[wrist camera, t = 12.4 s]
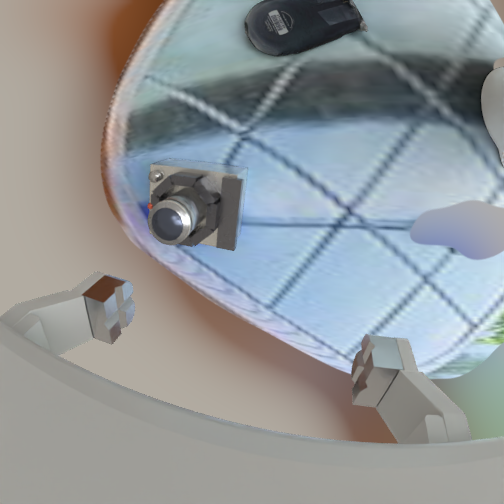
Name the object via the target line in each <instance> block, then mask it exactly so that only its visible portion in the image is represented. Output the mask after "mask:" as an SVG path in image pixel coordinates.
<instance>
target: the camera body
mask: <svg viewBox="0 0 504 504" xmlns="http://www.w3.org/2000/svg"><path fill="white" fill-rule="evenodd" d="M247 173H248V168H246V167H239V166H232V165H225V164H217V163H209V162H201V161H192V160H183V159H173V158H169V159H166V160H163V161H159V162H156V163H153V164H151V168H150V173H149V180H150V203H149V204H148V208H149V209H150V211H151V209H152V208H153V207H154V206H155V205H156V204H157V203H159V202H161V201H162V200H165V199H166V198H168V197H169V196H171V195H173V194H174V193H176V192H178V191H179V190H181V189H183V188H194V189H195V190H196V192H197V193H198V194H199V196H200V197H201V198H202V199H203V201H204V202H205V203H206V204H207V213H206V217H205V218H204V220H203V221H202V222H201V223H200V224H199V225H198V226H197V227H196V228H195V229H194V230H193V231H192V232H191V233H190V234H189V235H188V236H187V237H186V238H185V239H184V240H183V241H182V242H180V243H178V244H181V245H186V246H191V247H192V246H193V245H195V246H196V245H197V244H199V243H200V244H205V245H210V246H215V247H217V248H222V249H227V250H232V251H234V250H235V249H236V243H237V238H238V236H239V235H240V232H241V224H242V215H243V207H244V198H245V190H246V181H247ZM150 234H152V233H151V231H150Z"/></svg>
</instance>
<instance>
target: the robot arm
mask: <svg viewBox="0 0 504 504" xmlns="http://www.w3.org/2000/svg"><path fill="white" fill-rule="evenodd" d="M481 106H482V113H483V118H484V121H485V124H486V127H487V130H488V132H489V134H490V136H491V137H492V139H493V141H494V142H495V144H496V146H497V147H498V150H499V154H500V158H501V162H502V165H503V166H504V67H499V68H496V69H494V70H493V71H491V72H490V73H489V75H488V76H487V77H486V79H485V81H484V84H483V88H482V94H481ZM132 293H133V287H132V283H131V282H129V281H127V280H123V279H120V278H117V277H114V276H111V275H107V274H104V273H101V272H94V273H93V274H91V275H90V276H89V277H87V278H86V279H85V280H84V281H83V282H81V283H80V284H79V285H77V287H75V288H74V289H72V290H71V291H68V290H66V291H63V292H59V293H55V294H51V295H48V296H44V297H40V298H36V299H32V300H29V301H25V302H21V303H18V304H15V305H14V306H13V307H12V308H10V309H9V310H8V311H7V312H6V313H4V314H3V315H2V316H1V317H0V504H504V436H502V437H496V438H488V439H480V440H472V437H471V433H470V430H469V426H468V423H467V419H466V416H465V413H464V412H463V411H462V410H461V409H460V408H459V407H458V406H456V405H455V404H454V403H453V402H452V401H451V400H450V399H449V398H448V397H447V396H446V395H445V394H444V393H443V392H442V391H441V390H440V389H439V388H438V387H437V386H436V385H435V384H434V383H433V382H432V381H431V380H430V379H429V378H428V377H427V376H426V375H425V374H423V373H422V372H418V369H417V365H416V362H415V359H414V355H413V352H412V349H411V346H410V343H409V340H408V339H404V338H395V337H394V338H391V337H384V336H377V335H371V334H366V335H365V336H364V338H363V340H362V342H361V346H362V350H361V351H359V352H358V353H357V354H356V356H355V359H354V361H353V365H352V372H351V377H352V380H353V381H354V383H355V385H354V387H353V388H352V396H353V405H361V406H368V407H377V408H376V409H377V410H378V412H379V414H380V415H381V417H382V418H383V420H384V421H385V423H386V424H387V426H388V428H389V429H390V430H391V432H392V433H393V435H394V437H395V438H396V440H397V441H398V443H399V444H388V443H366V442H365V443H364V442H352V441H341V440H331V439H323V438H315V437H308V436H301V435H295V434H289V433H283V432H277V431H272V430H267V429H262V428H257V427H252V426H248V425H243V424H239V423H235V422H231V421H227V420H223V419H219V418H216V417H212V416H209V415H205V414H202V413H198V412H194V411H191V410H188V409H185V408H182V407H179V406H176V405H173V404H170V403H167V402H164V401H161V400H158V399H155V398H153V397H150V396H147V395H145V394H142V393H139V392H137V391H134V390H131V389H129V388H127V387H124V386H122V385H119V384H117V383H114V382H112V381H110V380H108V379H105V378H103V377H101V376H99V375H96V374H94V373H92V372H90V371H88V370H86V369H84V368H82V367H80V366H78V365H75V364H73V363H71V362H69V361H67V360H65V359H64V358H62V357H60V356H58V355H60V354H63V353H65V352H67V351H69V350H71V349H73V348H75V347H77V346H79V345H81V344H83V343H86V342H88V341H90V340H92V339H93V338H95V339H98V340H101V341H104V342H106V343H109V344H113V343H114V342H115V341H116V339H117V338H118V337H119V336H120V335H121V328H124V327H127V326H128V325H129V324H130V322H131V321H132V319H133V316H134V311H135V304H134V301H133V300H132V298H131V297H130V296H131V294H132Z"/></svg>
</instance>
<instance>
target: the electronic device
mask: <svg viewBox="0 0 504 504" xmlns="http://www.w3.org/2000/svg"><path fill="white" fill-rule="evenodd" d="M245 29H246V30H245V33H246V34H247V36H248V37H249V39H250V41H251V42H252V44H253V45H254V46H255V47H256V48H257V49H258V50H260V51H262V52H264V53H266V54H269V55H273V56H281V55H288V54H296V53H300V52H303V51H306V50H309V49H312V48H315V47H317V46H320V45H323V44H325V43H328V42H330V41H333V40H336V39H338V38H340V37H342V36H343V35H345V34H348V33H351V32H354V31H356V30H361V31H366V32H367V29H368V27H367V25H366V24H365V22H364V20H363V18H362V16H361V14H360V13H359V11H358V9H357V8H356V6H355V4H354V2H353V0H264V1H262V2H260V3H258V4H257V5H255V6H254V7H253V8H252V9H251V11H250V12H249V13H248V15H247V17H246V20H245Z"/></svg>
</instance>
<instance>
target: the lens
mask: <svg viewBox="0 0 504 504" xmlns="http://www.w3.org/2000/svg"><path fill="white" fill-rule="evenodd" d="M206 213H207V204H206V203H205V202H204V201H203V199H202V198H201V197H200V196H199V194H198V193H197V192H196V190H195V189H194V188H183V189H181V190H179V191H178V192H176V193H174V194H173V195H171V196H169V197H168V198H166V199H165V200H162V201H161V202H159V203H157V204H156V205H155V206H154V207H153V208H152V209H151V211H150V212H149V215H148V226H149V229H150V231H151V233H152V235H153V236H154V237H155V238H156V239H157V240H158V241H160V242H161V243H163V244H167V245H175V244H178V243H180V242H182V241H183V240H184V239H185V238H186V237H187V236H188V235H189V234H190V233H191V232H192V231H193V230H194V229H195V228H196V227H197V226H198V225H199V224H200V223H201V222H202V221H203V220H204V218H205V217H206Z"/></svg>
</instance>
